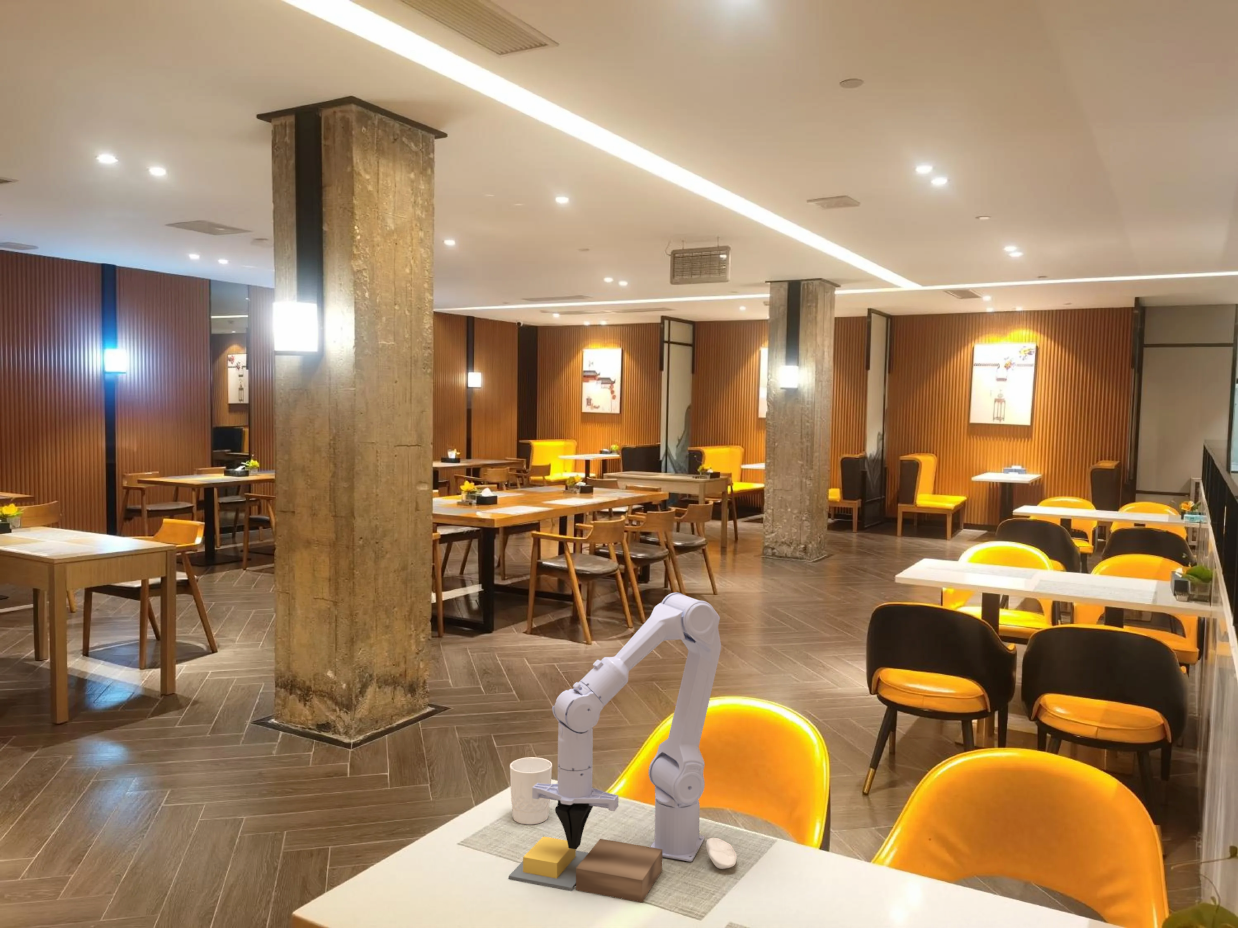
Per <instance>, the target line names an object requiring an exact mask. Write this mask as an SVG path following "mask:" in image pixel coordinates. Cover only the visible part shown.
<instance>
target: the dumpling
mask: <svg viewBox="0 0 1238 928" xmlns="http://www.w3.org/2000/svg"><path fill="white" fill-rule="evenodd" d="M705 844H706V845H705V846H706V847H705V848H706V852H707V855H708V857H709V859H710V860H711V861H712V864H713V865H714V866H715V867H716V868H717V869H719V870H725V869H729V868H733V867H734V866H735V865H736V863H737V861H738V860H737V859H738V856H737V852H736V851H735V849H734V847H733V846H732V844H730V843H729V842H726V841H725V840H723V839H721V838H718V837H710V838H707V840H706V843H705Z"/></svg>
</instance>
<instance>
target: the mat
mask: <svg viewBox="0 0 1238 928" xmlns="http://www.w3.org/2000/svg"><path fill="white" fill-rule="evenodd" d="M588 853H589V852H587V851H582V850H581V851H580V850H577V849H576V857H575V858H574V859H573V860H572V861H571V863H570V864H569V865H568V866H567V867H566V868H565V870H564V871H563V872H562V873H561V874H560V875H559V877H558V878H552V877H546V876H541V875H536V874H530V873H525V872H523V860H522V861H521V862H520V863H519V865H518V866H517V867H516V868H515V869H513V870H512V872H511V873H510V874H509V875H508V880H513V881H518V882H523V883H528V884H534V885H538V886H544V887H548V888H549V887H550V888H554V889H559V890H564V891H570V892H572V891H573V890H574V889H575V888H576V868H577V866H578V865H579V864H580V863H581V862H582V860H583V859H584V858H585V857H586V855H587V854H588Z"/></svg>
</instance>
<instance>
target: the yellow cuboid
mask: <svg viewBox="0 0 1238 928" xmlns="http://www.w3.org/2000/svg"><path fill="white" fill-rule="evenodd" d="M576 850H577V849H571V848H568V843H567V839H566V840H565V839H561V838H554V837H549V836H542V837H541V838H540V839H539V840H538V841H537V842H536V843H535V844H534V846H532V847H531V848H530V849H529V851H527V852H526V853H525V854H524V856H522V861H523V872H525V873H530V874H536V875H541V876H546V877H552V878H558V877H559V875H560V874H561V873H562V872H563V871H564V870H565V868H566V867H567V866H568V865H569V864H570V863H571V861H572V860H573V859H574V858H575V857H576Z"/></svg>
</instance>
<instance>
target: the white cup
mask: <svg viewBox="0 0 1238 928" xmlns="http://www.w3.org/2000/svg"><path fill="white" fill-rule="evenodd" d="M552 770H553V763H552V762H551V761H550V760H548V759H546V758H543V757H533V756H532V757H531V756H530V757H529V756H527V757H522V758H518V759H516V760H515V759H514V760H513V761H511V762H510V763H509V774H510V775H509V777H510V780H509V781H510V782H509V783H510V801H511V812H512V813H511V816H512V817H511V818H512V819H513V821H515V822H517V823H518V824H522V825H537V824H542V823H543V822H545V821H547V819H549V817H550V802H551V799H544V798H539V799H533V798H532V787H533V786H534V785H536V784H537V783H541V784H552V776H553V775H552V772H553V771H552Z"/></svg>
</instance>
